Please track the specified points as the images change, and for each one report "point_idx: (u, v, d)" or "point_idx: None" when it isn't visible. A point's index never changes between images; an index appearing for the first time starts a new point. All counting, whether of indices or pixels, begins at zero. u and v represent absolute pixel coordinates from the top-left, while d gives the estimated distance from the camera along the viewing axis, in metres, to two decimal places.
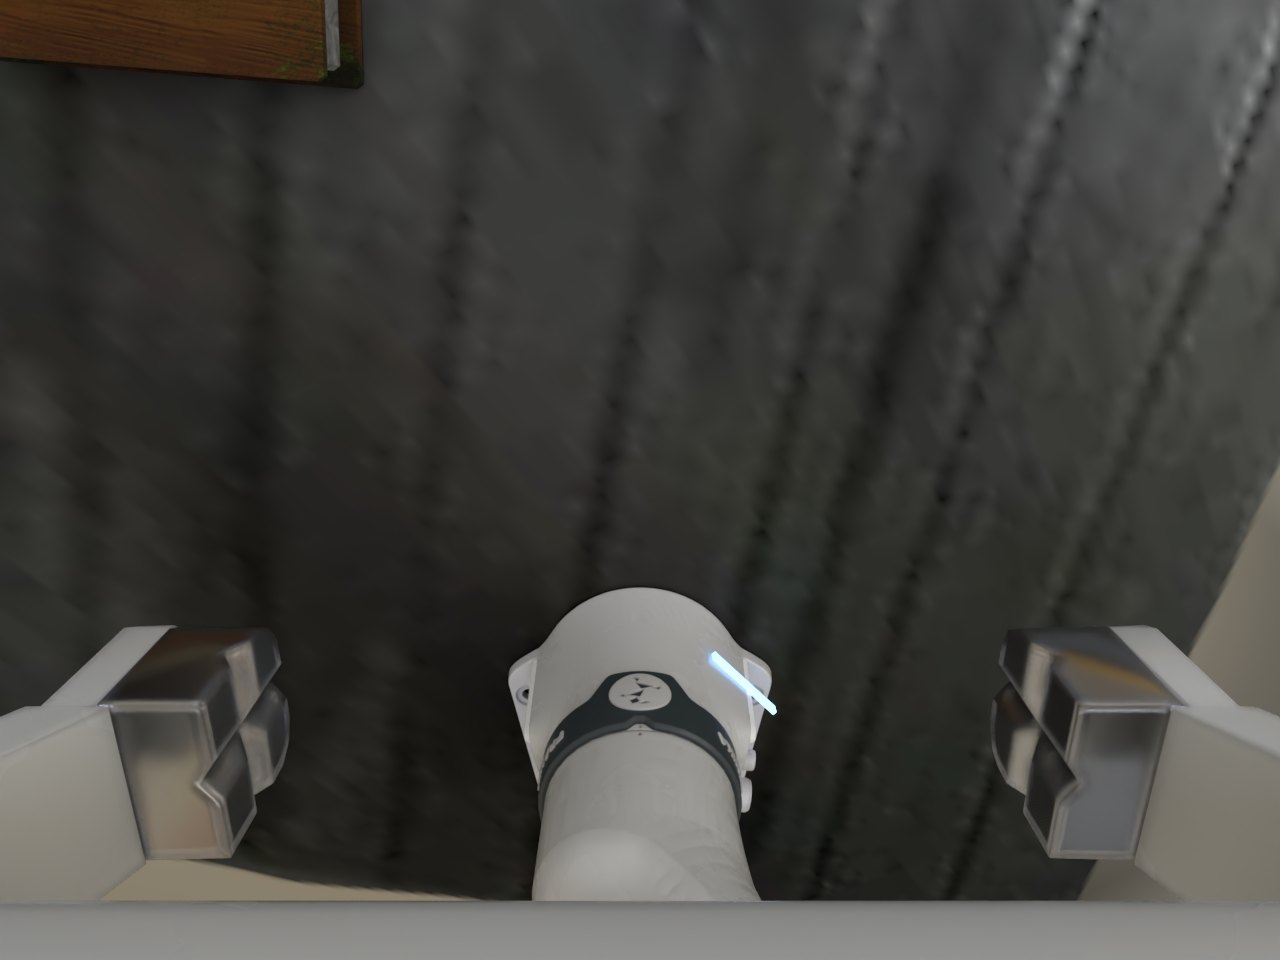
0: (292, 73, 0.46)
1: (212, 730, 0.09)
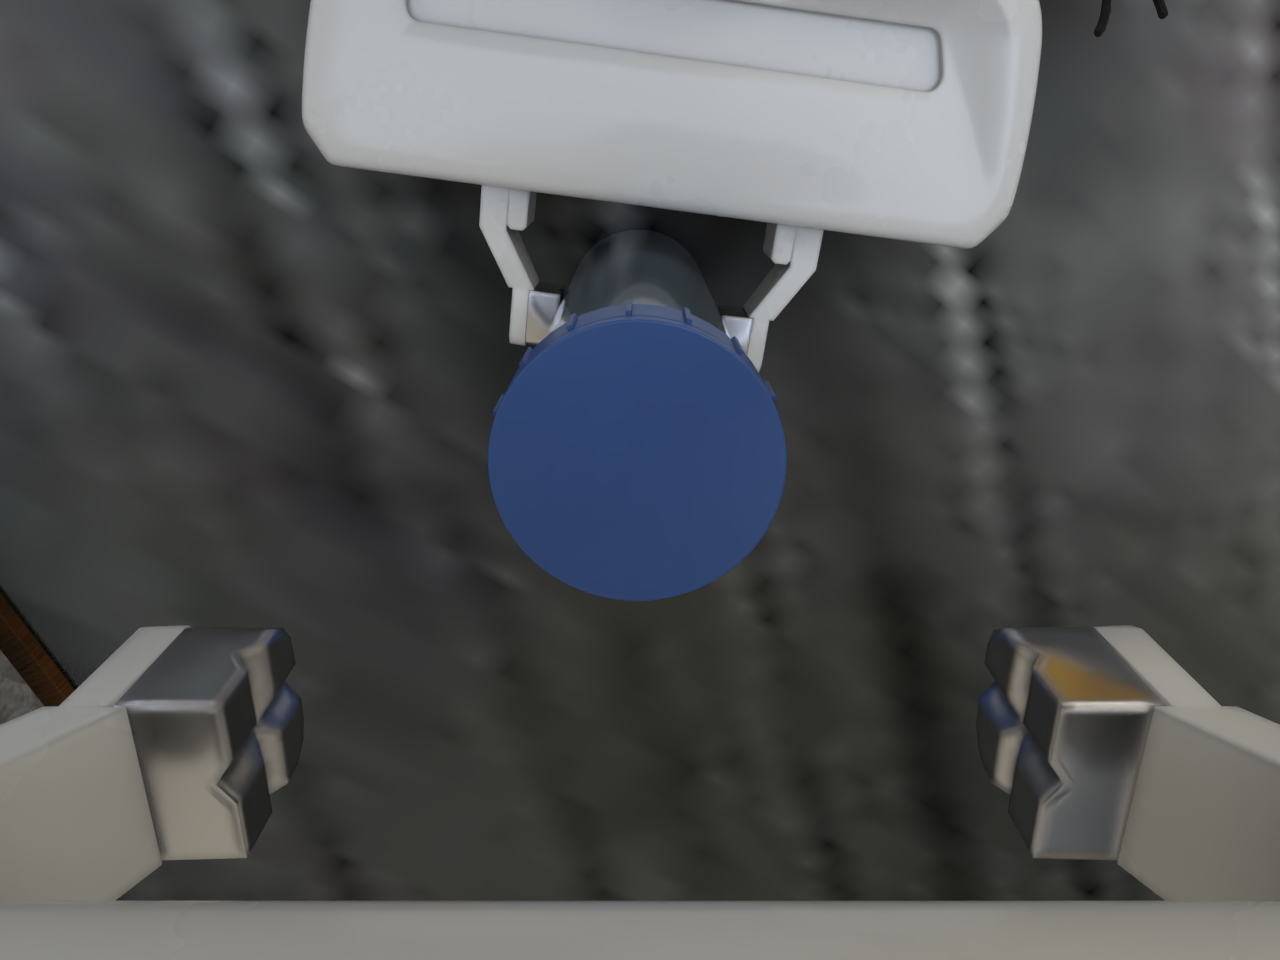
0: None
1: (229, 730, 0.09)
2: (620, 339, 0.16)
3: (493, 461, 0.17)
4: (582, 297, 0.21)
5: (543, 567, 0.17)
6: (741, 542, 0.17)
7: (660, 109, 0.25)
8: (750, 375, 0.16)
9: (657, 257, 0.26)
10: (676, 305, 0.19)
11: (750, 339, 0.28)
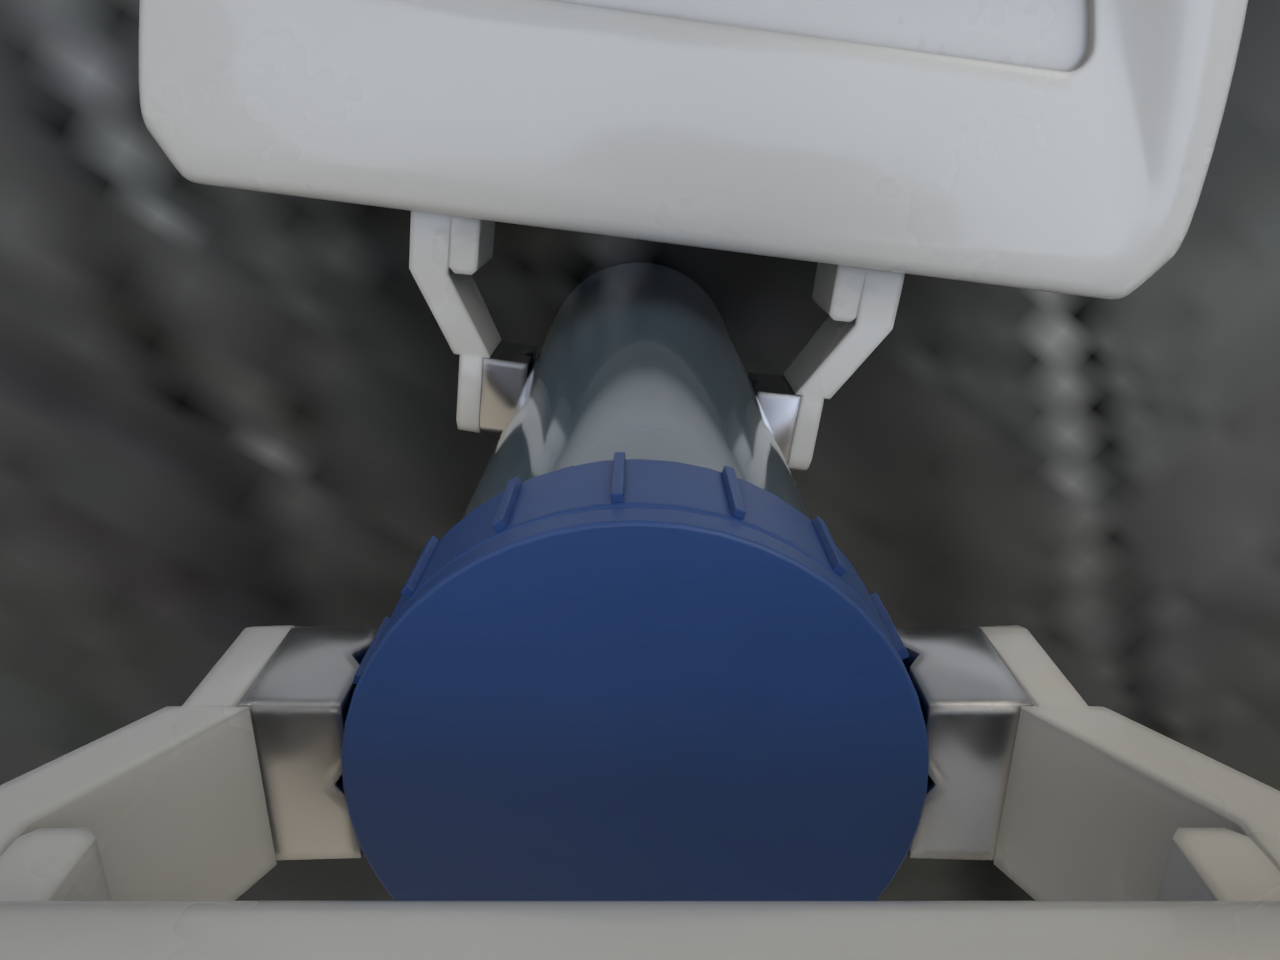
0: None
1: None
2: (600, 559, 0.08)
3: (353, 779, 0.08)
4: (547, 400, 0.13)
5: None
6: None
7: (671, 98, 0.17)
8: (865, 627, 0.08)
9: (666, 315, 0.18)
10: (704, 435, 0.11)
11: (797, 425, 0.20)
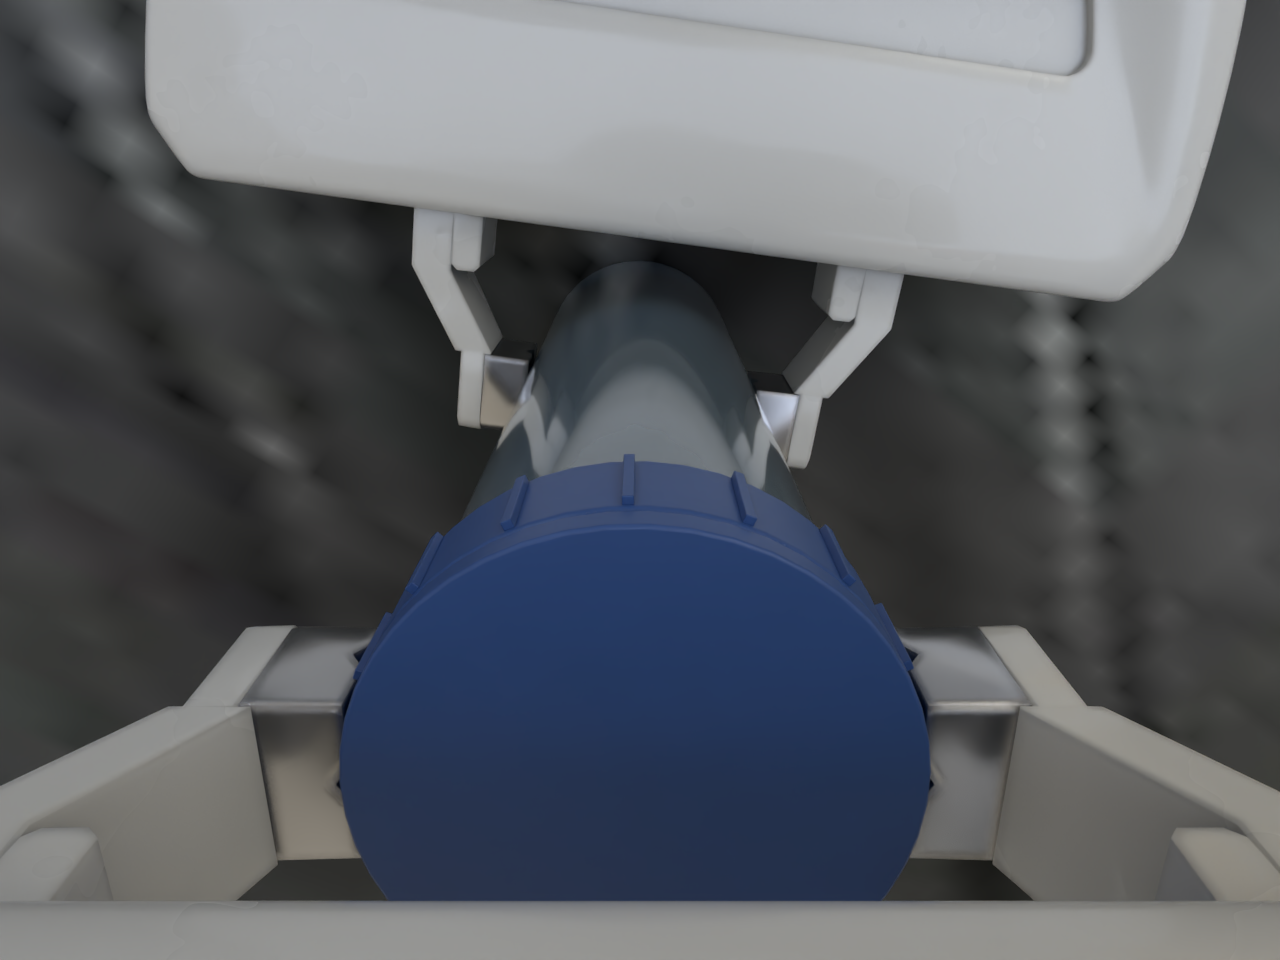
0: None
1: None
2: (379, 730, 0.08)
3: None
4: (549, 396, 0.13)
5: None
6: (879, 688, 0.08)
7: (673, 99, 0.17)
8: (539, 548, 0.08)
9: (666, 313, 0.18)
10: (704, 432, 0.11)
11: (795, 424, 0.20)
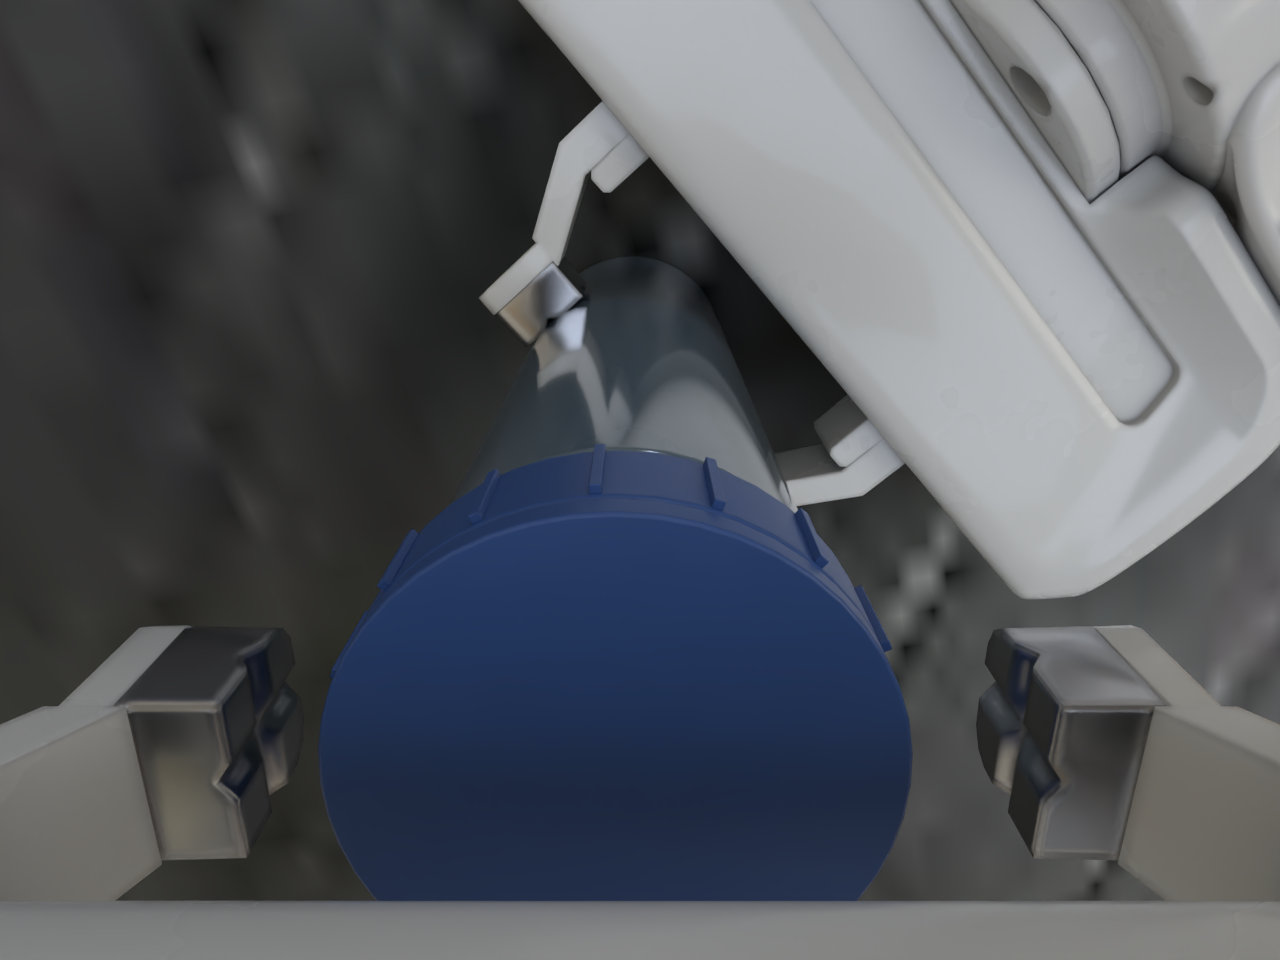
0: None
1: (229, 730, 0.09)
2: (360, 811, 0.09)
3: None
4: (655, 365, 0.13)
5: None
6: (786, 596, 0.08)
7: (868, 203, 0.18)
8: (403, 597, 0.08)
9: (729, 354, 0.18)
10: (794, 503, 0.12)
11: None
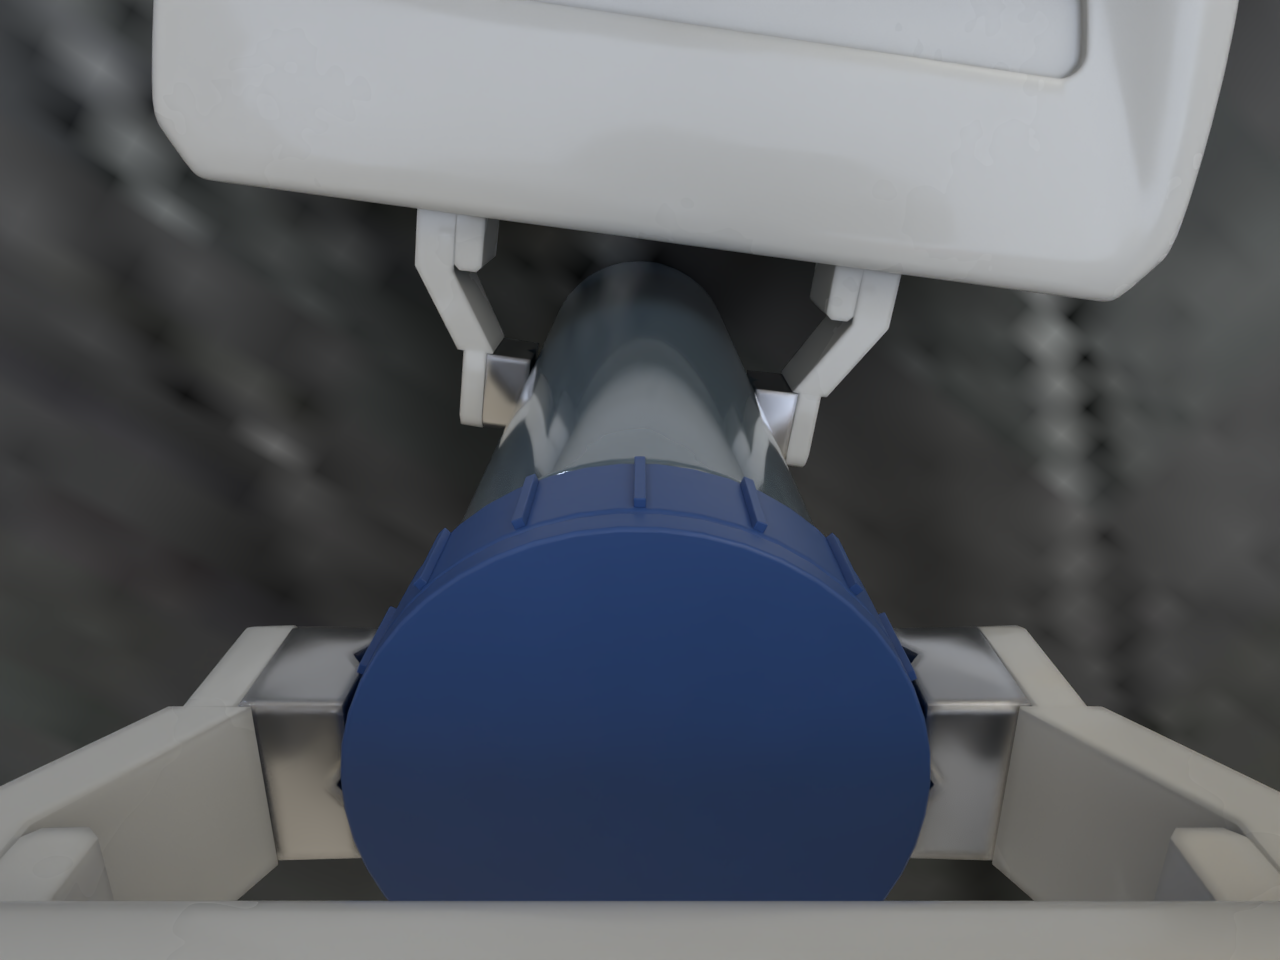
0: None
1: None
2: None
3: None
4: (551, 394, 0.14)
5: (924, 798, 0.09)
6: (613, 560, 0.08)
7: (673, 101, 0.17)
8: (346, 770, 0.08)
9: (666, 313, 0.18)
10: (704, 428, 0.11)
11: (794, 422, 0.20)
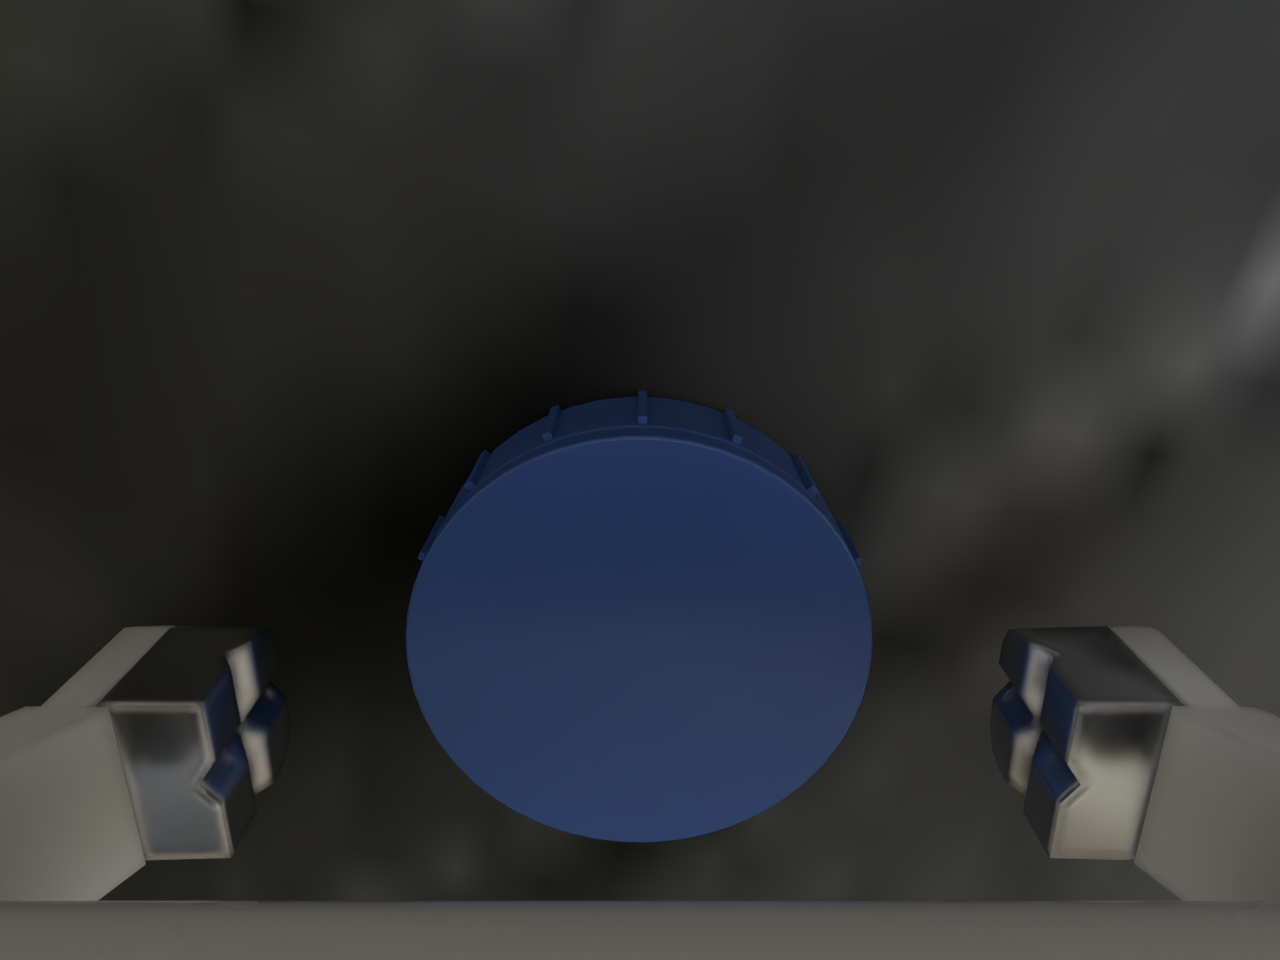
0: None
1: (212, 730, 0.09)
2: (509, 782, 0.11)
3: (767, 801, 0.11)
4: None
5: (868, 658, 0.11)
6: (622, 462, 0.10)
7: None
8: (411, 634, 0.11)
9: None
10: None
11: None
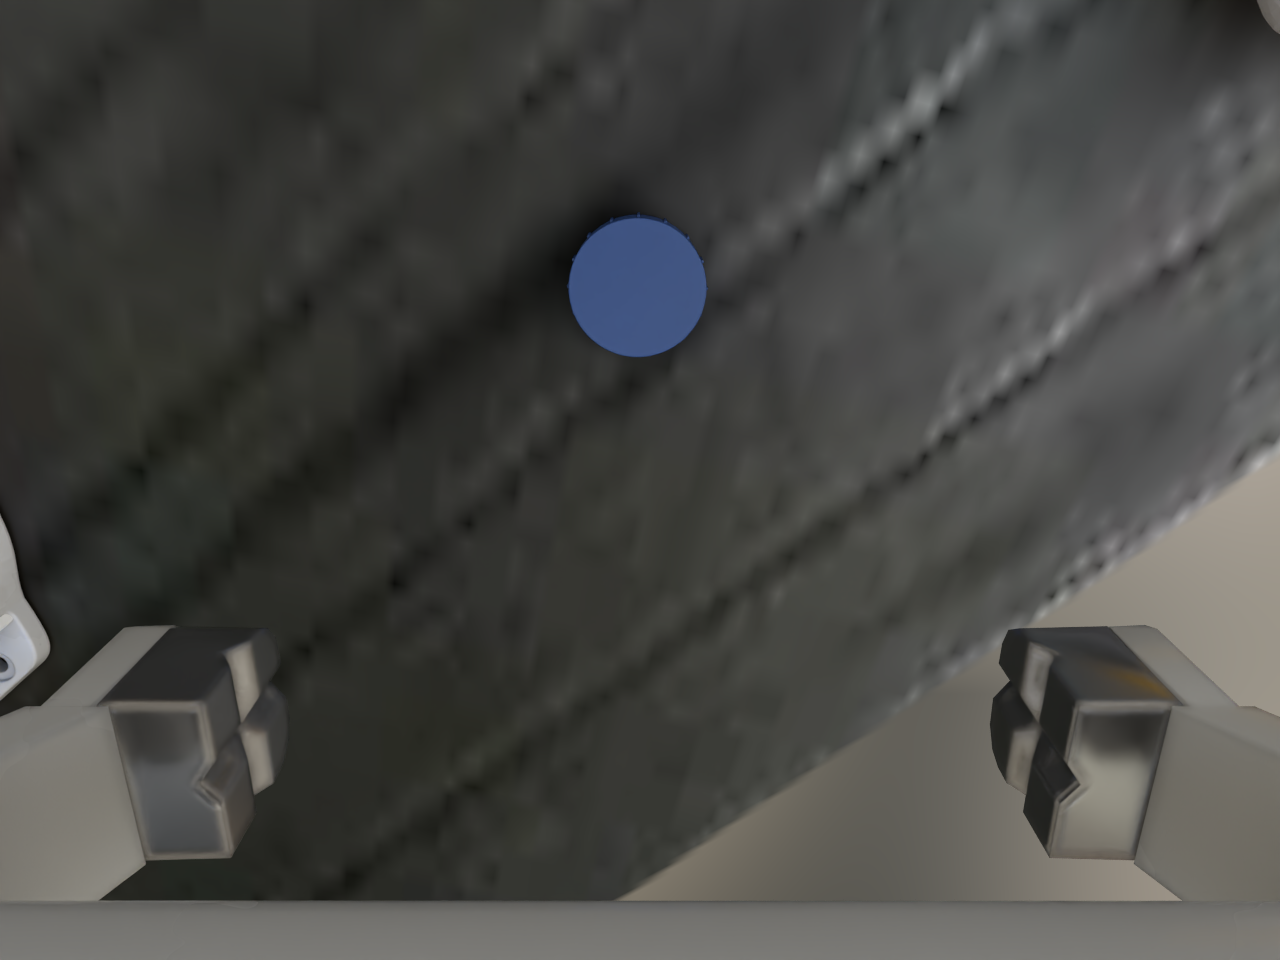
0: None
1: (212, 730, 0.09)
2: (597, 334, 0.37)
3: (677, 341, 0.37)
4: None
5: (705, 290, 0.36)
6: (632, 225, 0.35)
7: None
8: (570, 280, 0.36)
9: None
10: None
11: None
